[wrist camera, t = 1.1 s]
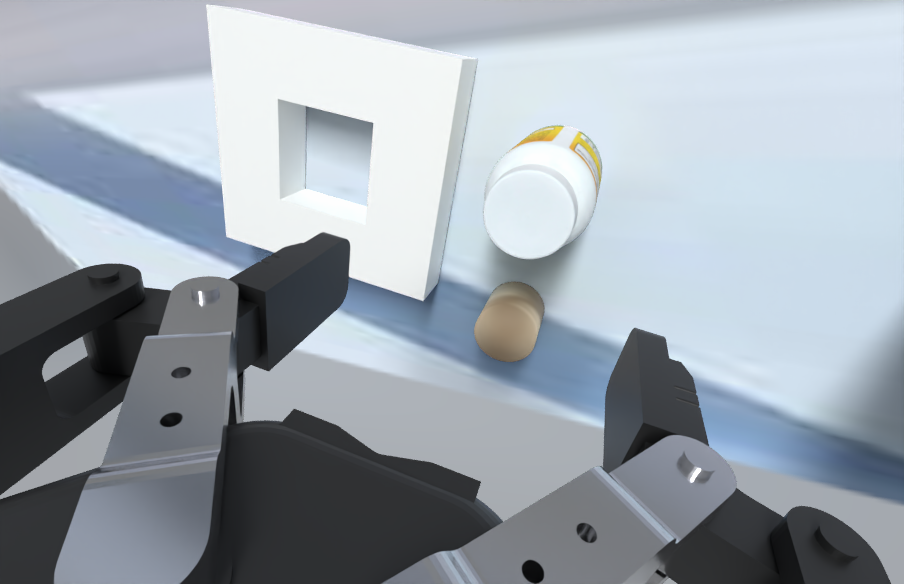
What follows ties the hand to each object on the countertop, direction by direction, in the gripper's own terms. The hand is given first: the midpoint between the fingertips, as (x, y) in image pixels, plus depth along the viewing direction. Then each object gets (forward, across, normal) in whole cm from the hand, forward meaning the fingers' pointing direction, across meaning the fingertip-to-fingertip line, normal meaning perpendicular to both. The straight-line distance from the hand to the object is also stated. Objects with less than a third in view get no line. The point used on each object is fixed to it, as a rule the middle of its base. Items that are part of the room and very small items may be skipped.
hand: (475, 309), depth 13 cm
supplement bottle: (+18, 0, 0) cm, 18 cm away
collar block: (+18, +14, +2) cm, 23 cm away
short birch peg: (+18, 0, +10) cm, 21 cm away
